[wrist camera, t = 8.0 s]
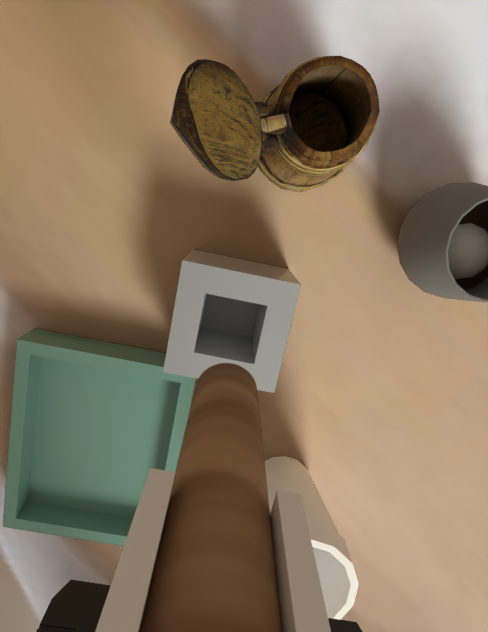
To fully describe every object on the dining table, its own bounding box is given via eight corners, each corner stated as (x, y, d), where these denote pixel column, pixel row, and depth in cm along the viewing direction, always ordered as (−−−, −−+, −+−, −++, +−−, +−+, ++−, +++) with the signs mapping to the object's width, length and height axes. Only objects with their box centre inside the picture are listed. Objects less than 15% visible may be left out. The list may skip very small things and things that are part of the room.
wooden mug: (188, 105, 35) (141, 9, 18) (346, 68, 35) (454, -69, 17) (213, 211, 38) (191, 216, 20) (362, 178, 37) (471, 153, 20)
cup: (506, 228, 38) (597, 236, 29) (436, 307, 40) (499, 340, 31) (431, 162, 37) (500, 147, 27) (362, 248, 39) (403, 262, 29)
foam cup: (219, 480, 45) (211, 587, 32) (283, 426, 43) (301, 516, 31) (278, 533, 47) (293, 654, 34) (342, 483, 45) (382, 591, 33)
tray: (167, 526, 46) (161, 552, 43) (20, 502, 45) (2, 526, 42) (199, 359, 41) (196, 373, 38) (35, 328, 40) (17, 339, 37)
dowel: (250, 425, 22) (294, 1248, 5) (189, 414, 22) (0, 1233, 4) (263, 369, 21) (377, 1109, 4) (201, 357, 21) (23, 1082, 4)
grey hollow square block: (267, 358, 41) (274, 393, 34) (177, 340, 41) (162, 372, 33) (288, 269, 39) (301, 284, 31) (193, 249, 38) (182, 260, 31)
